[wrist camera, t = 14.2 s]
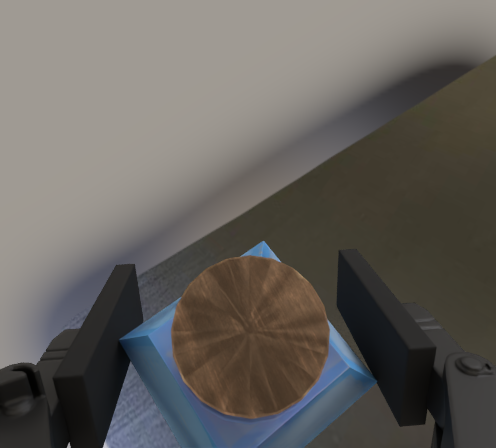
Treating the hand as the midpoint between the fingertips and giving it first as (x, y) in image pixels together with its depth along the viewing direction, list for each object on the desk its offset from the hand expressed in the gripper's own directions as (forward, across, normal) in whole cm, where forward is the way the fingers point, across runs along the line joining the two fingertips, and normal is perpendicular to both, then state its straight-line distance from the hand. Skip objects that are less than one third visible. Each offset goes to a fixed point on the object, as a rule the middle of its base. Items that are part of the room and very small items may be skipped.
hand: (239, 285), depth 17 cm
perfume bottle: (0, 0, -5) cm, 5 cm away
